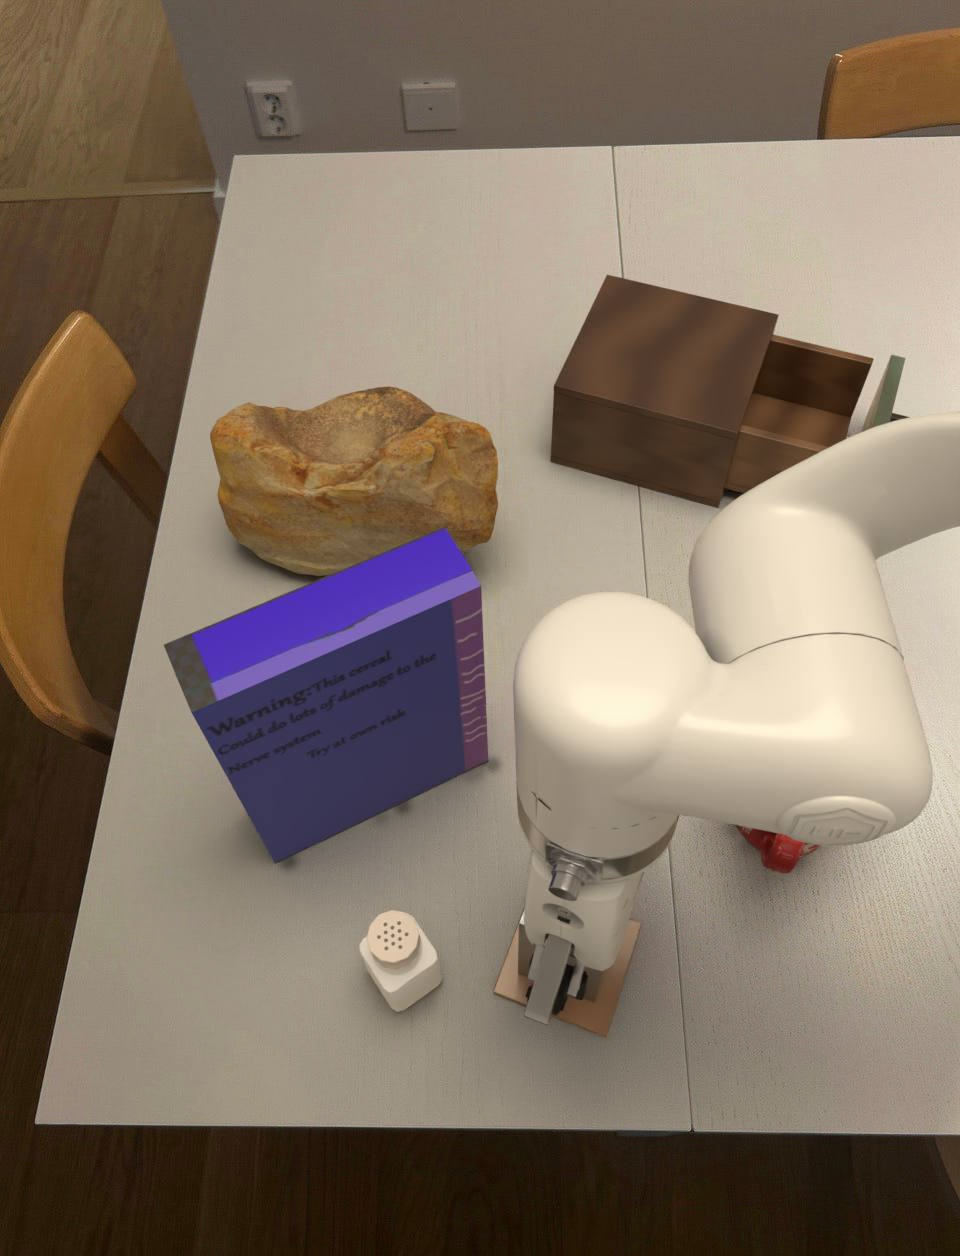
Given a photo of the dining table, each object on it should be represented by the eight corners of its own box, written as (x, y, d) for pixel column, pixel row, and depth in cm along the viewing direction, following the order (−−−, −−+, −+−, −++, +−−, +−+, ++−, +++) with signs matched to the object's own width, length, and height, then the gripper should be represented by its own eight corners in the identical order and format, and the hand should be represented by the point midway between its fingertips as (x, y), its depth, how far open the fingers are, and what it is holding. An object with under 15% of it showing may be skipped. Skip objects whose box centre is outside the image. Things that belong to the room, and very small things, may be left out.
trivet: (641, 924, 74) (641, 922, 74) (606, 1037, 70) (606, 1036, 70) (532, 885, 76) (533, 883, 75) (493, 993, 72) (492, 991, 71)
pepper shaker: (365, 968, 73) (347, 928, 65) (414, 934, 74) (402, 890, 66) (397, 1017, 71) (382, 982, 63) (446, 982, 72) (438, 943, 64)
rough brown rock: (526, 467, 97) (526, 332, 85) (493, 608, 87) (487, 478, 76) (284, 441, 101) (251, 308, 89) (226, 574, 91) (180, 444, 79)
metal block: (615, 939, 73) (631, 885, 63) (595, 1003, 71) (608, 957, 61) (539, 911, 74) (543, 854, 64) (517, 973, 72) (518, 923, 62)
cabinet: (757, 393, 100) (779, 314, 92) (718, 508, 93) (738, 433, 85) (599, 354, 104) (606, 274, 95) (550, 461, 96) (553, 385, 88)
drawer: (925, 433, 96) (956, 369, 89) (900, 545, 89) (932, 485, 83) (723, 382, 100) (738, 318, 93) (685, 486, 93) (698, 425, 87)
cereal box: (460, 712, 83) (444, 524, 63) (488, 761, 81) (481, 583, 60) (251, 809, 79) (162, 642, 59) (275, 863, 77) (190, 710, 57)
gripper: (621, 1006, 44) (600, 1077, 58) (725, 664, 52) (684, 800, 67) (452, 942, 45) (472, 1027, 60) (580, 621, 54) (570, 763, 68)
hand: (584, 907), depth 63 cm, fingers open, 9 cm apart
